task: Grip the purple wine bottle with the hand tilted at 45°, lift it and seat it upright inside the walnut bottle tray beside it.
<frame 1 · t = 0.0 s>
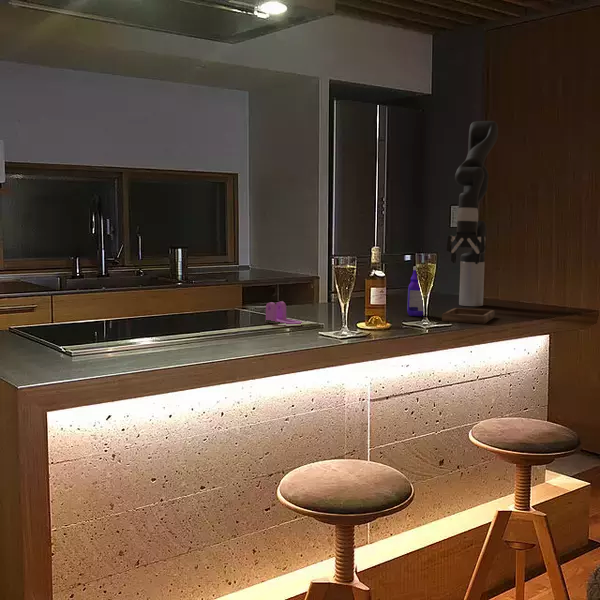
hand: (465, 263, 293), 17 cm above the countertop, tool pointing down, fingers open, 8 cm apart
walnut tray: (468, 319, 267), on the countertop
bracket: (285, 325, 250), on the countertop
bottle: (417, 316, 274), on the countertop
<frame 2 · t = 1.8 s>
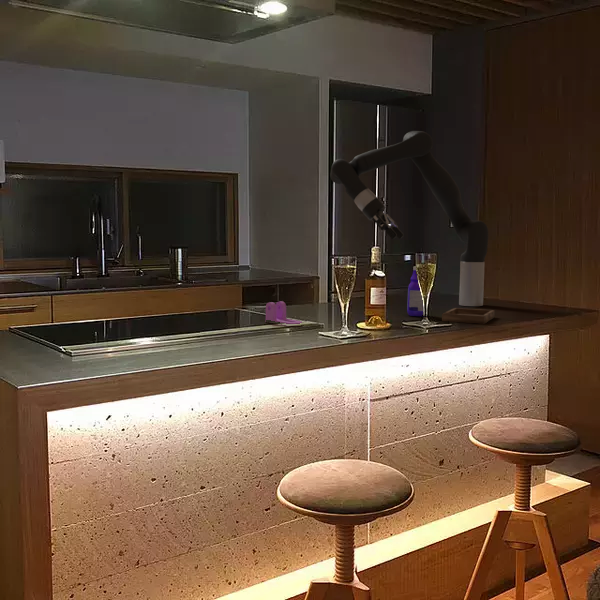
hand: (398, 237, 279), 27 cm above the countertop, tool tilted 45°, fingers open, 8 cm apart
nothing on the countertop moved.
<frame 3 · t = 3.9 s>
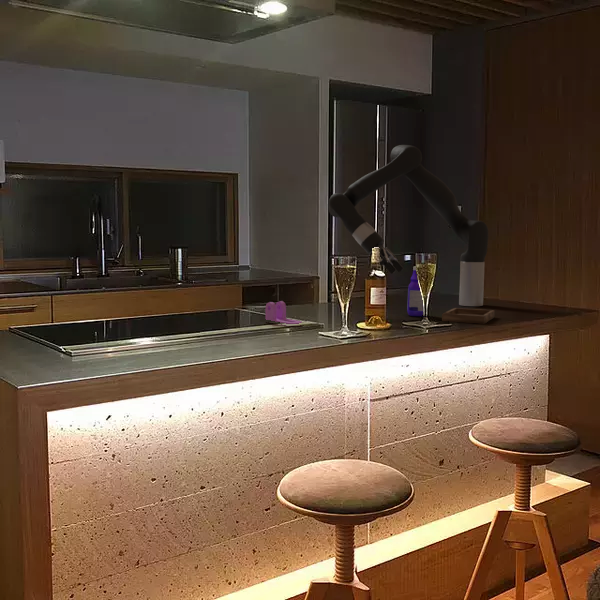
hand: (398, 271, 276), 15 cm above the countertop, tool tilted 45°, fingers open, 8 cm apart
nothing on the countertop moved.
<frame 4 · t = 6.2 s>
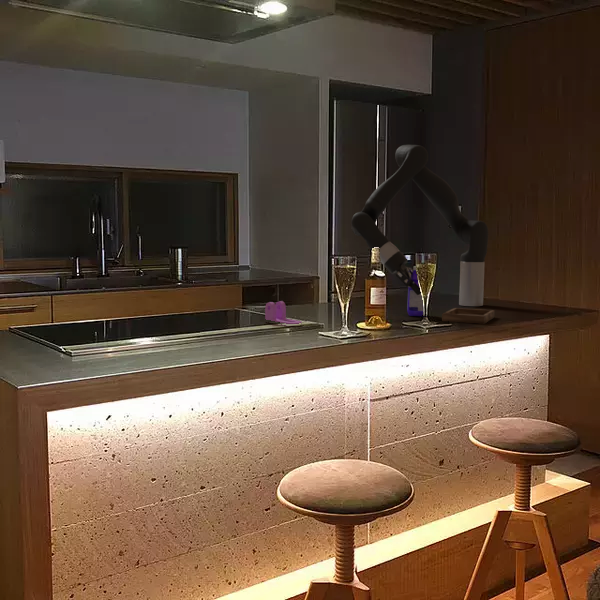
hand: (422, 292, 273), 8 cm above the countertop, tool tilted 45°, fingers closed on bottle, 6 cm apart
bottle: (417, 316, 274), on the countertop, touching gripper
everything else where it was.
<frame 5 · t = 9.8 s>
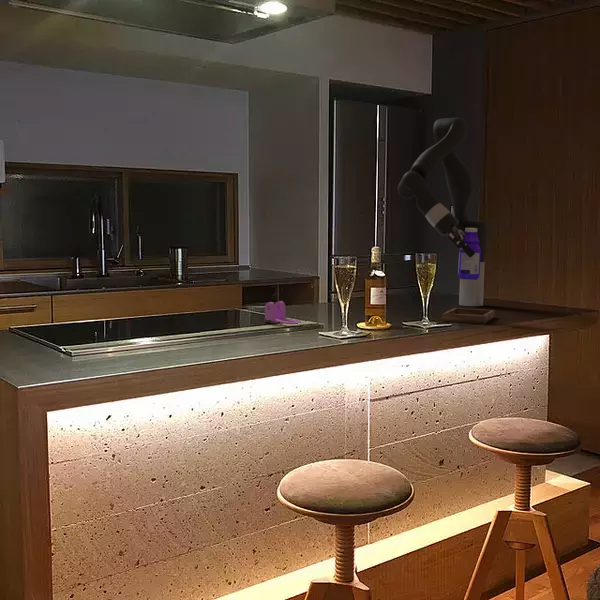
hand: (474, 255, 264), 22 cm above the countertop, tool tilted 45°, fingers closed on bottle, 6 cm apart
bottle: (468, 279, 266), point 13 cm above the countertop, touching gripper
everything else where it was.
when the fingers open (10 cm above the countertop, at t = 13.2 s): bottle drops 1 cm, resting on walnut tray.
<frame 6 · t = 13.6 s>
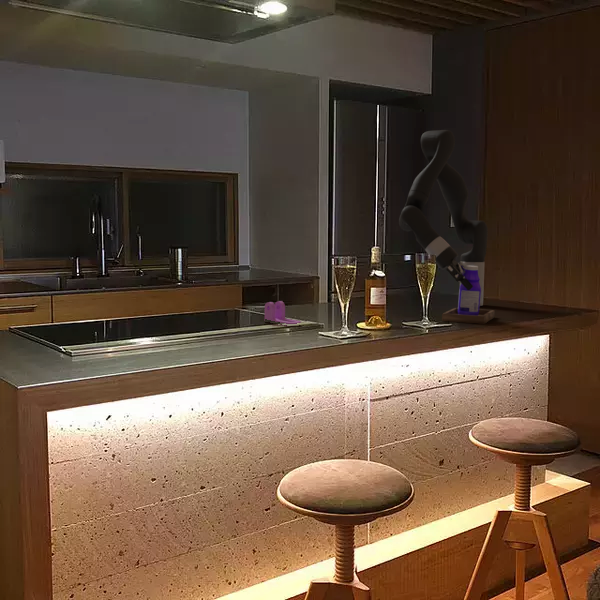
hand: (473, 287, 265), 11 cm above the countertop, tool tilted 45°, fingers open, 8 cm apart
bottle: (468, 317, 267), point 1 cm above the countertop, touching walnut tray
everything else where it was.
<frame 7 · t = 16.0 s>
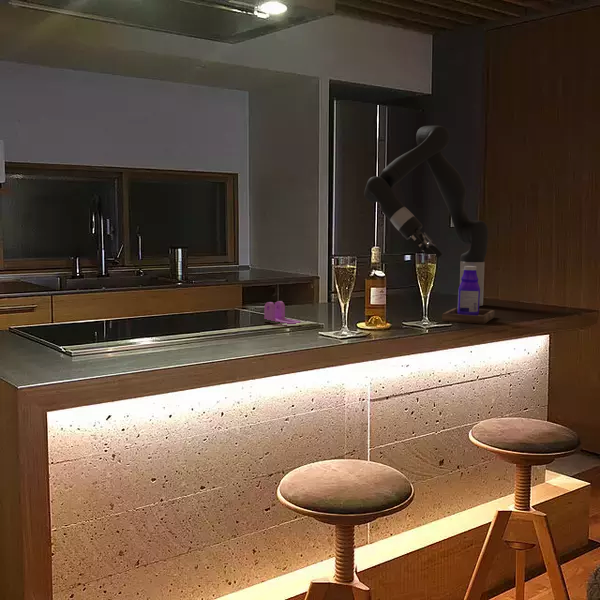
hand: (437, 256, 269), 21 cm above the countertop, tool tilted 45°, fingers open, 8 cm apart
nothing on the countertop moved.
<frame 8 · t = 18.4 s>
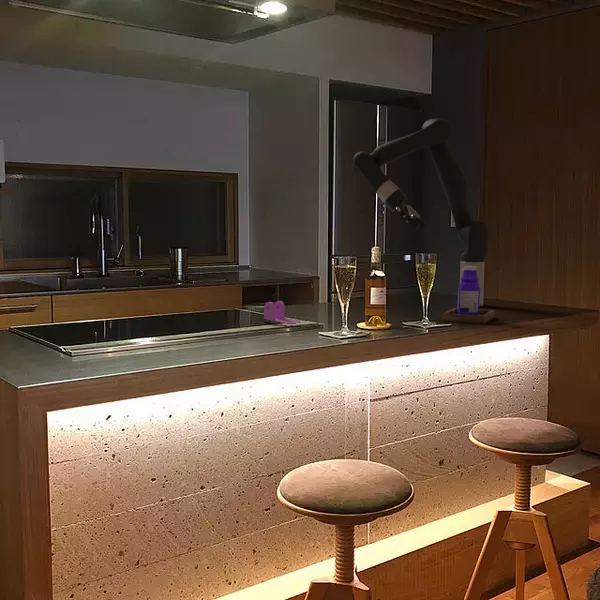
hand: (421, 227, 282), 31 cm above the countertop, tool tilted 45°, fingers open, 8 cm apart
nothing on the countertop moved.
at the end: bottle inside the target area on the walnut tray (0.2 cm from its centre), point 0.6 cm above the walnut tray's base; bottle tilted 0°; the gripper is holding nothing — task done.
